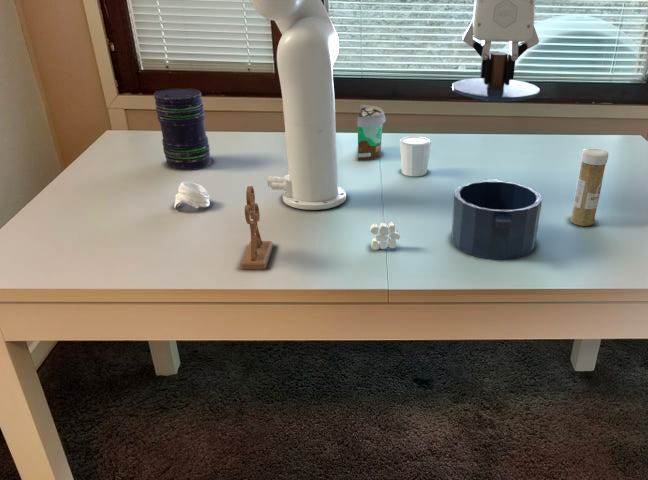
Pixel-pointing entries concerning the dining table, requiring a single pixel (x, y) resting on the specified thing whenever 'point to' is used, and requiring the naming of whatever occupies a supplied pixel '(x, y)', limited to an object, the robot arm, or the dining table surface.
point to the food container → (370, 132)
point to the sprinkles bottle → (589, 186)
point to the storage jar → (183, 128)
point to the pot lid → (496, 84)
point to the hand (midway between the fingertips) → (496, 82)
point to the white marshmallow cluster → (384, 236)
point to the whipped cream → (192, 195)
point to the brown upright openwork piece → (255, 237)
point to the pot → (495, 219)
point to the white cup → (414, 155)
